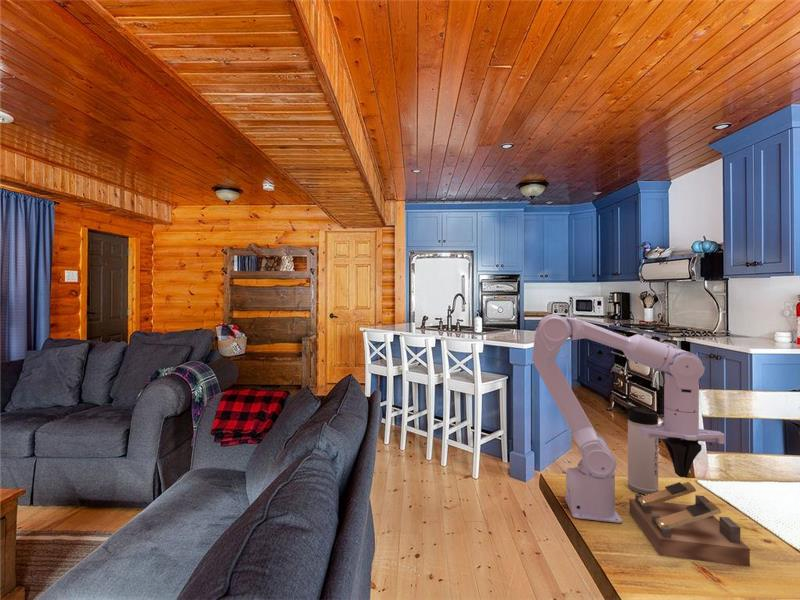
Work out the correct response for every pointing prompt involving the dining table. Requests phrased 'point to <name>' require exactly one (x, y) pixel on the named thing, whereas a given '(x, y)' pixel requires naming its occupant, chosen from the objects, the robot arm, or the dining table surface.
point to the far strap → (667, 493)
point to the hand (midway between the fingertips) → (681, 475)
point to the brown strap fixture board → (691, 534)
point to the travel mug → (642, 451)
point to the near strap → (688, 515)
